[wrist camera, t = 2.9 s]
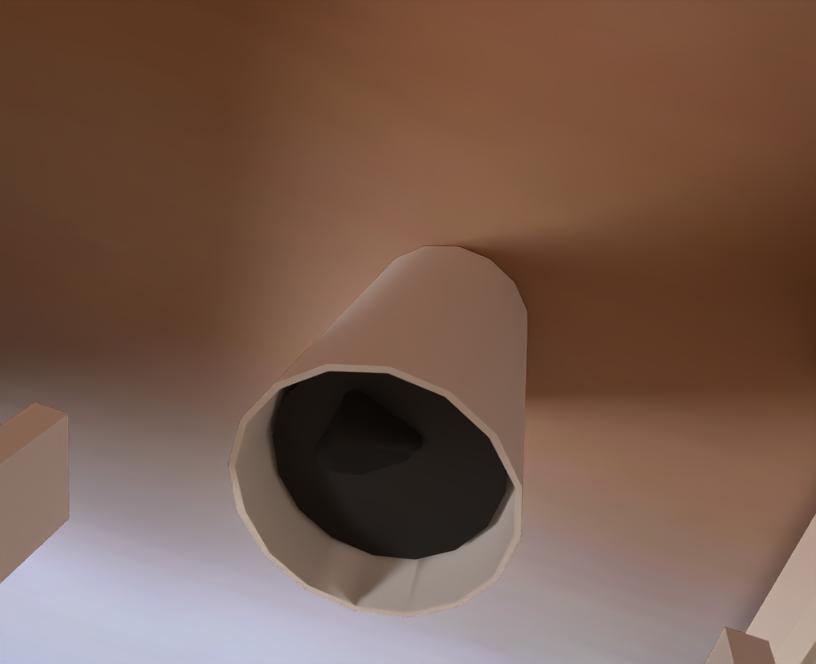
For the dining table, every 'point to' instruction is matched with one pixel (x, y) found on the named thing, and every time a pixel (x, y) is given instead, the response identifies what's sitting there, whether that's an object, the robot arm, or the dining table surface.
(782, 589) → the drawer
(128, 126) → the dining table surface
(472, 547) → the white cup
